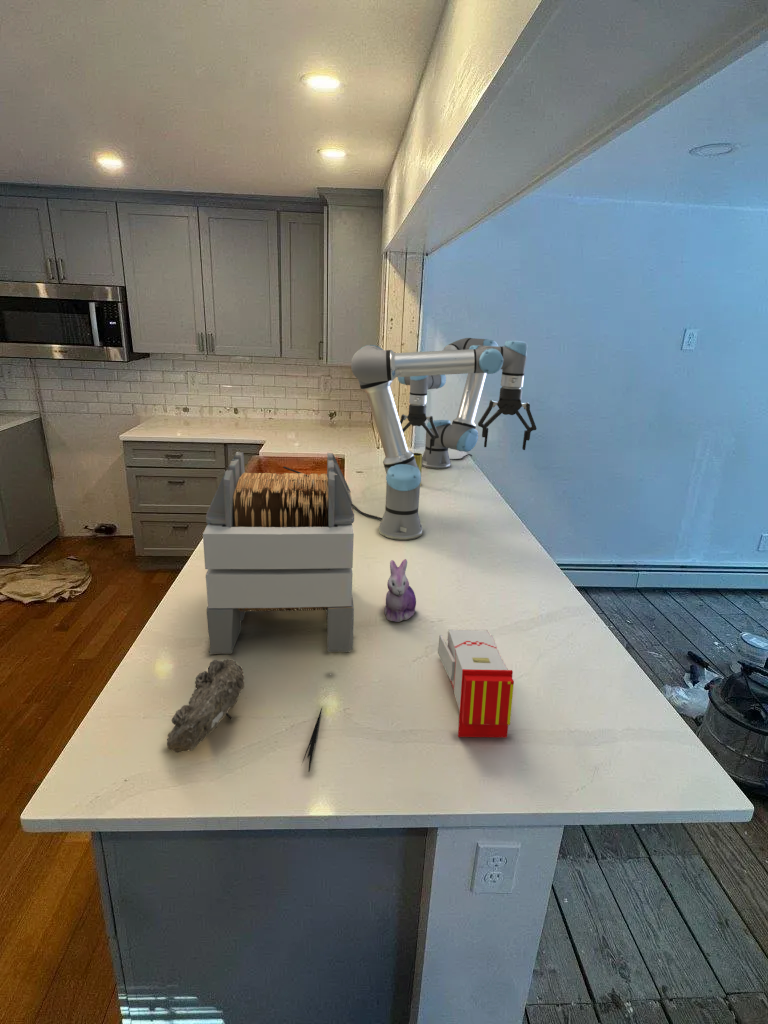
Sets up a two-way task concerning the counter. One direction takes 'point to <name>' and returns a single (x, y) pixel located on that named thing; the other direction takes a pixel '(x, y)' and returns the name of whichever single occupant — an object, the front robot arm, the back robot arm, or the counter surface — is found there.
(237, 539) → the record storage crate
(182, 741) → the fossil
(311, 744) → the feather
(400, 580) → the figurine
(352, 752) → the counter surface
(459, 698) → the toy
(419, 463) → the olive drinking cup
